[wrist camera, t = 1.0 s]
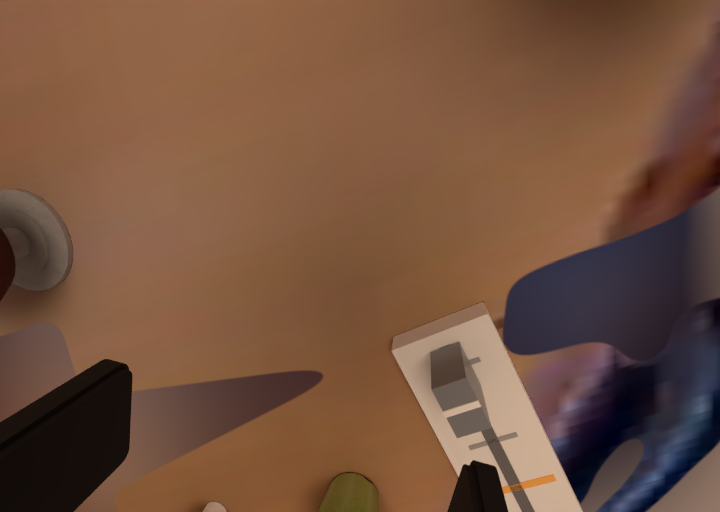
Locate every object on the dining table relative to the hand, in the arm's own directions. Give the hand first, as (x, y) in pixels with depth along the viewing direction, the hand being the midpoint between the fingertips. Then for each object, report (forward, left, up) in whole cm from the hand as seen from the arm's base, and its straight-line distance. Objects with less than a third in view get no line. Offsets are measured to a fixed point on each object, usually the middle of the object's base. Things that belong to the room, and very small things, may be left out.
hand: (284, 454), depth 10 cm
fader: (-1, +14, -25) cm, 29 cm away
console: (-1, +23, -28) cm, 37 cm away
